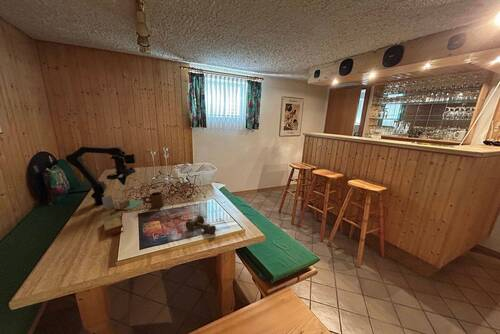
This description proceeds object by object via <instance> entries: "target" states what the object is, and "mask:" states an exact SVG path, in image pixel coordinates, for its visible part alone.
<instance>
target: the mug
mask: <svg viewBox="0 0 500 334" xmlns="http://www.w3.org/2000/svg"><path fill="white" fill-rule="evenodd" d="M147 199H149V200H147ZM163 199H164V198H163V194H162V192H160V191H156V192H151V193H150V194H149V195H146V196H144V197H143V198H142V201H144V204H150V207H151V208H152V209H154V208H157V209H161V208H163V206H164V200H163ZM160 207H161V208H160Z"/></svg>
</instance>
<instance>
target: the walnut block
mask: <svg viewBox="0 0 500 334" xmlns="http://www.w3.org/2000/svg"><path fill="white" fill-rule="evenodd" d="M113 204H114V206H115V210H120V209H121V208H124V207H127V206H130V200H129V199H122V200H119V201H115V202H113Z"/></svg>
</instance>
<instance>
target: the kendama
mask: <svg viewBox="0 0 500 334" xmlns="http://www.w3.org/2000/svg"><path fill="white" fill-rule="evenodd" d="M196 226H198V227H199V228H201V229H202V230H203V231H204V233H208V234H209V236H212V235H214V234H215V232H216V230H217V229H216V225H214V224H213V225H211V224H210V223H207V224H205V219H204V217H203V216H202V215H199V214H198V215H197V216H196V218H195V219H194V220H193V219H188V218H187V221H186V222H185V228H186V229H187V231H189V232H193V231H194V229H195V227H196Z"/></svg>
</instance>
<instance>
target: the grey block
mask: <svg viewBox="0 0 500 334" xmlns="http://www.w3.org/2000/svg"><path fill="white" fill-rule="evenodd" d="M102 201H103V204H102V206H103V208H104V209H106V210H110V209H113V207H114V200H113V196H112V195H104V197H102Z"/></svg>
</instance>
